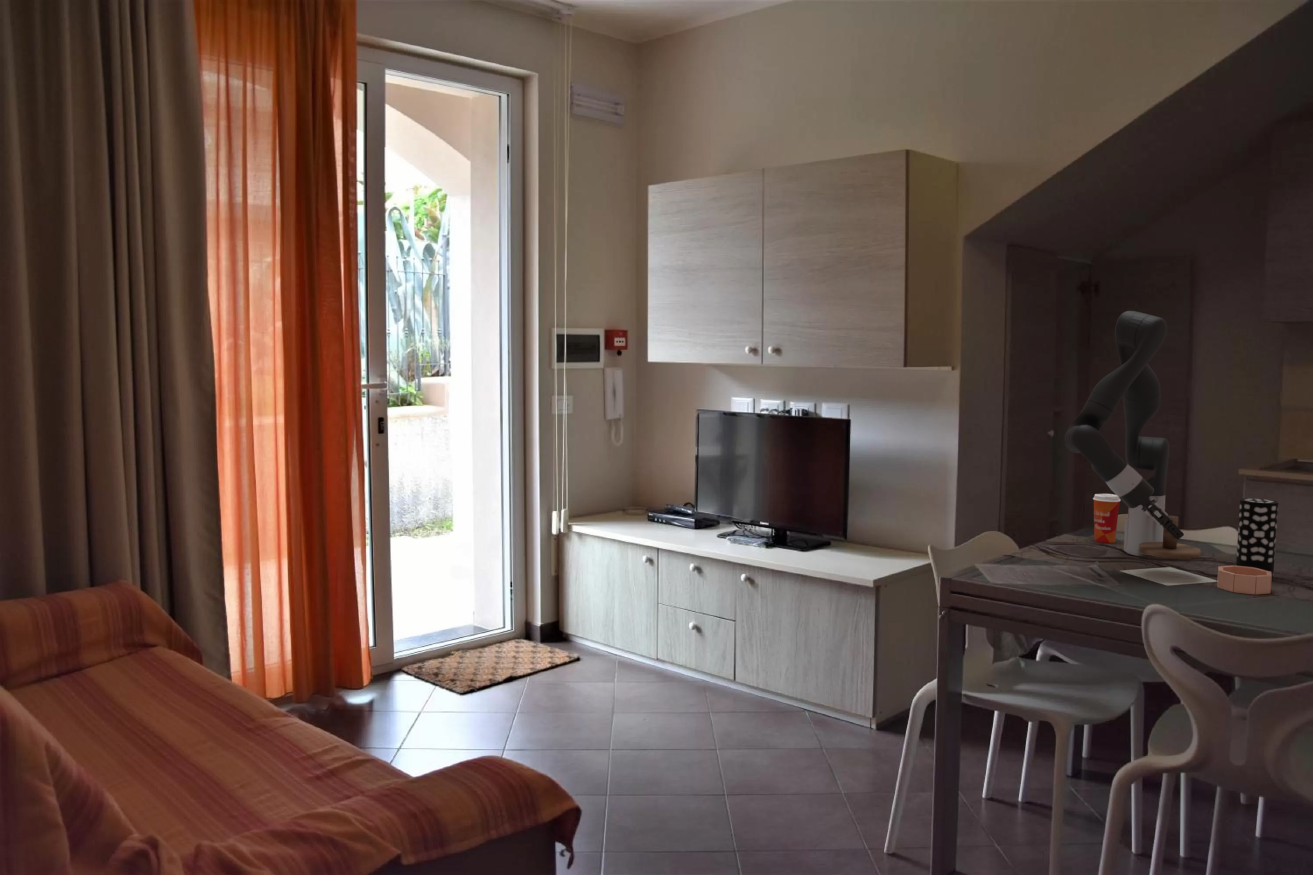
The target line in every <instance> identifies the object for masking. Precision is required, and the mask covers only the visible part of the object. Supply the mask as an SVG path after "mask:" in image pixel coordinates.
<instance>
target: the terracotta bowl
mask: <svg viewBox="0 0 1313 875" xmlns="http://www.w3.org/2000/svg"><path fill="white" fill-rule="evenodd" d="M1217 568H1218V570H1217V584H1216V585H1217V586H1216V587H1217V588H1218V589H1221V590H1224V591H1228V592H1231V593H1237V594H1245V595H1246V594H1247V595H1255V596H1253V598H1256V599H1257V598H1267V597H1271V595H1266V594H1271V592H1272V581H1273V580H1272V574H1271V572H1270V571H1266V570H1262V569H1258V568H1254V567H1244V566H1236V565H1222V566H1221V565H1220V566H1217ZM1264 594H1265V595H1264Z"/></svg>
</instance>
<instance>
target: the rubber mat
mask: <svg viewBox="0 0 1313 875" xmlns="http://www.w3.org/2000/svg"><path fill="white" fill-rule="evenodd" d="M1120 572H1121V573H1125V574H1128V575H1131V576H1135V577H1138V578H1142V579H1143V580H1144V579H1145V580H1147V581H1150V582H1154V583H1158V584H1160V585H1164V586H1167V587H1169V586H1179V585H1193V584H1206V583H1216V582H1217V581H1218V579H1217V580H1216V579H1214V578H1213V579H1212V578H1209V577H1206V576H1203V575H1199V574H1196V573H1194V572H1189V571H1185V570H1181V569H1177V568H1175V567H1171V566H1167V567H1153V568H1138V569H1137V568H1136V569H1126V570H1120Z"/></svg>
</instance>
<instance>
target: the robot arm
mask: <svg viewBox="0 0 1313 875" xmlns="http://www.w3.org/2000/svg"><path fill="white" fill-rule="evenodd" d="M1167 333H1168V324H1167V321H1166V320H1165V319H1164V318H1163V317H1159V316H1155V315H1152V314H1148V313H1146V312H1145V313H1143V312H1140V311H1136V310H1127V311H1124V312H1122V313H1121V314H1120V315H1119V316H1118V318H1117V321H1116V324H1115V328H1114V338H1115V340H1114V341H1115V345H1116V351H1117V355H1118V360H1119V364H1120V366H1119V367H1117V368H1116V369H1114V370H1113V371H1111V372H1110V373H1108V374H1106V375H1105V376H1104V377H1103V378H1101V379H1100V380H1099V381H1098V382H1097V383H1096V385H1095V386H1094V387H1093V389H1092V391H1091V393H1089V397H1088V398H1087V400H1086V402H1085V404H1084V405H1083V407H1082V409H1081V411H1080V412H1079V413H1078V414H1077V416H1075V418H1074V420H1073V421H1072V423H1071V424H1070V425H1069V427H1068V428H1067V430H1066V431H1065V432H1066V433H1065V435H1064V445H1065V448H1067V450H1069V451H1070V452H1072V453H1075V454H1081V455H1083V456H1084V457H1085V458H1086V460H1087V461H1089V463H1090V464H1091V469H1092V470H1093V472H1095V474H1096V475H1097V476H1098V477H1100V479H1101V480H1102V481H1103V482H1104V483H1105V484H1106V485H1107V486H1108V488H1109V489H1110V491H1112V492H1113V493H1114V495H1117V496H1118V497H1119V498H1120V500H1121V501H1122V502H1123V503H1124V504H1125V505H1126V506H1127V507H1128V511H1127V517H1126V518H1125V519H1124V520H1125V521H1124V538H1123V551H1124V552H1125V553H1126V554H1129V555H1131V556H1137V557H1138V556H1139V557H1141V556H1148V555H1147V554H1144V553H1142V552H1140V551H1139V544H1141V543H1144V542H1163V528H1164V529H1167V530H1168V531H1169V532H1170V533H1171V534H1172V535H1173V536H1174V537H1175V538H1176V539H1177V541H1178V540H1180V539H1181V538H1182V537H1184V535H1185V534H1184V532H1183V531H1182V530H1181V529H1180V528H1179V526H1178V527H1177V526H1176V525H1175V524H1174V523H1173V521H1172V520H1170V519H1169V518H1168V516H1169V513H1167V512H1166V511H1165V510H1166V494H1167V493H1166V491H1167V476H1168V466H1169V465H1168V464H1169V458H1170V444H1169V440H1168V439H1167V438H1166V437H1165V438H1164V437H1157V436H1156V437H1155V436H1154V437H1152V436H1140V433H1141V431H1142V430H1143V428H1144V427H1145V426H1146V424H1148V422H1149V421H1151V419H1153V417H1154V416H1155V415H1156V414H1157V412H1158V411H1159V409H1160V407H1161V403H1162V397H1161V393H1162V392H1161V384H1160V381H1159V378H1158V377H1157V375H1156V373H1155V372H1154V370H1153V368H1151V366H1150V365H1149V362H1150V361H1151V360H1152V358H1153V357H1154V356H1155V355H1156V353H1157V352H1158V350H1159V349H1160V347H1161V346H1162V344H1163V343H1164V342H1165V339H1166V336H1167ZM1121 400H1122V405H1123V412H1124V413H1123V414H1124V421H1125V422H1124V423H1125V442H1124V443H1125V449H1124V451H1125V452H1124V453H1125V460H1124V459H1123V458H1122V457H1121V456H1120V455H1119V454H1118V453H1117V452H1115V451H1114V449H1113V448H1112V446H1111V445H1110V443H1109V442H1108V440H1107V439H1106V438H1105V437H1104V435H1103V434H1102V433H1101V432H1100V431H1101V428H1102V427H1103V426H1104V425H1105V424H1106V423H1107V422H1108V421H1109V420H1110V419H1111V417H1112V416H1113V415H1114V413H1115V411H1116V409H1117V408H1118V405H1119V404H1120V402H1121ZM1137 470H1145V471H1146V470H1147V471H1153V474H1152V475H1151V476H1149V477H1147V478H1144V477H1143V476H1142V475H1141V474H1139V472H1138V471H1137ZM1166 519H1167V520H1168V521H1167V522H1166V523H1165V524H1164V521H1165V520H1166Z"/></svg>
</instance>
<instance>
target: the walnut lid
mask: <svg viewBox="0 0 1313 875" xmlns="http://www.w3.org/2000/svg"><path fill="white" fill-rule="evenodd" d="M1168 518H1169V519H1170V520H1172V521H1173V523H1174V524H1175V525H1176V526H1177V527H1178V528H1179V516H1176V515H1168ZM1167 521H1168V520H1167V519H1166V520H1165V521H1164V524H1165V523H1166V522H1167ZM1139 551H1140V552H1142V553H1144V554H1147V555H1146V556H1152V557H1157V558H1164V559H1172V560H1173V559H1174V560H1192V559H1193V560H1194V559H1198V558H1201V556H1202V555H1201V553H1202V551H1201V549H1200V548H1198V547H1196V546H1193V545H1190V544H1189V545H1188V544H1184V543H1179V542H1178V540H1177V539H1176V538H1175V537H1174V536H1173V535H1172V534H1171V533H1170V532H1169V531H1168V530H1167V529H1164V528H1163V542H1144V543H1141V544H1139Z"/></svg>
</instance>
